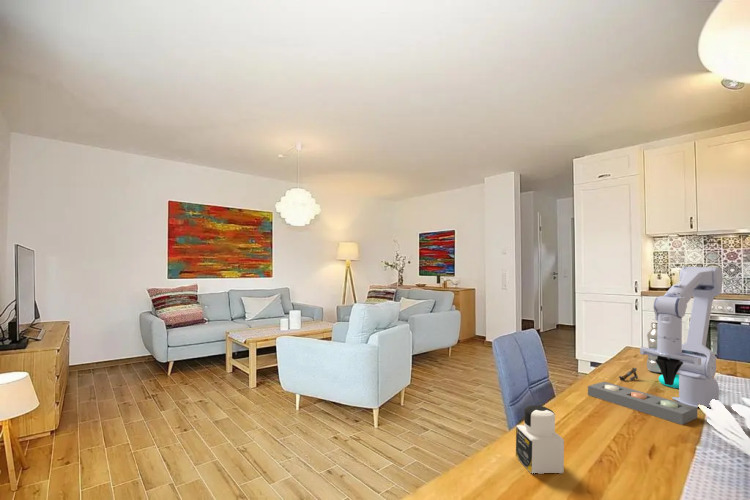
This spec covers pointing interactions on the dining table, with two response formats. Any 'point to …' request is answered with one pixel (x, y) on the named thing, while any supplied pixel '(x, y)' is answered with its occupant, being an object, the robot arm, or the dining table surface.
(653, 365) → the plastic bottle
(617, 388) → the button cream
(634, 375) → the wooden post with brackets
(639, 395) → the button terracotta
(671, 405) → the button sage
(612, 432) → the dining table surface
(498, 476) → the dining table surface
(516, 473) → the dining table surface
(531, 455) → the medicine bottle
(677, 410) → the button panel
